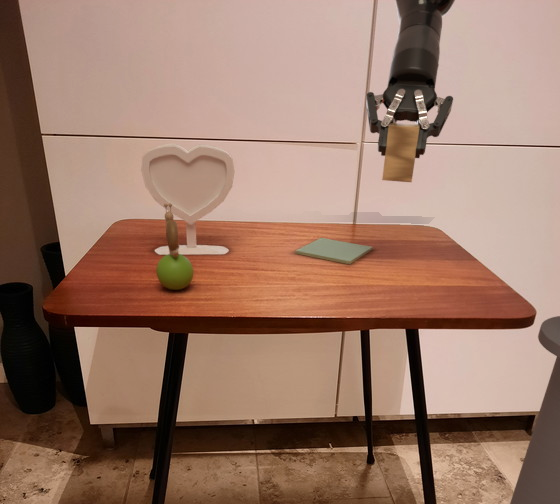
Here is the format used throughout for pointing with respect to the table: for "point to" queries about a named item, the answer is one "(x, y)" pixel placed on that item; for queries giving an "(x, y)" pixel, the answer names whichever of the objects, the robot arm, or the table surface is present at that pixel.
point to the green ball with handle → (173, 259)
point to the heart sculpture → (188, 186)
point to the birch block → (400, 152)
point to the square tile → (334, 250)
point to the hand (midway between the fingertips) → (400, 153)
